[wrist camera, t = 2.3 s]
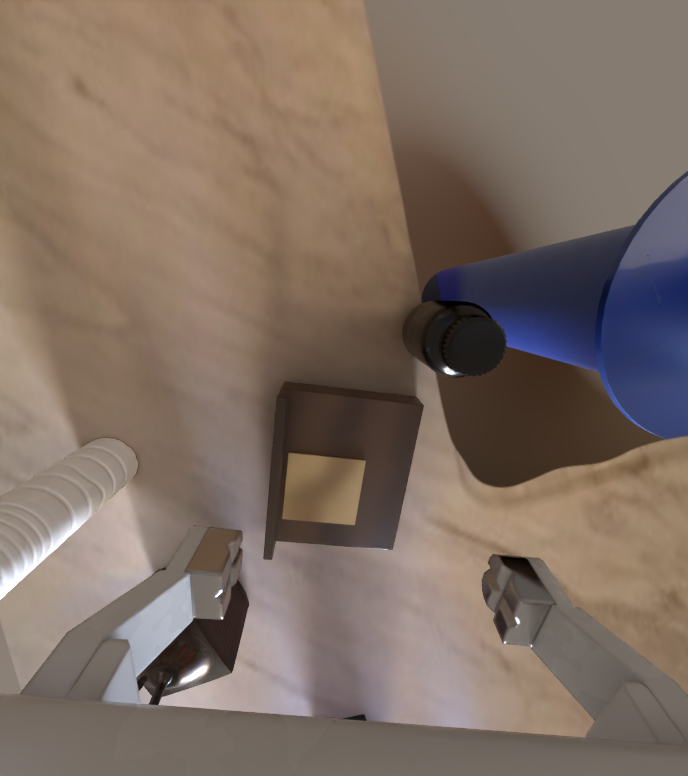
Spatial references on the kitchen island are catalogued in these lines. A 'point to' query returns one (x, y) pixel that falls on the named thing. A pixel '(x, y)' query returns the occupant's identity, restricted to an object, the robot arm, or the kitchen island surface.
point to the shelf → (339, 466)
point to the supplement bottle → (454, 338)
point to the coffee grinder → (198, 651)
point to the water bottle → (58, 504)
